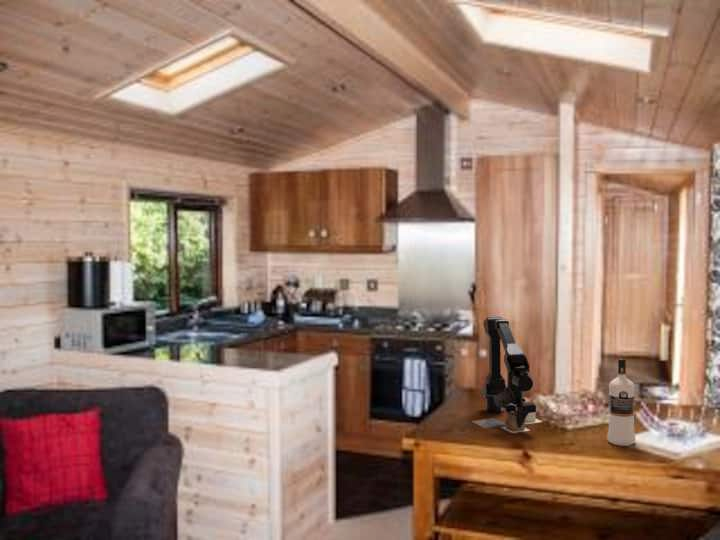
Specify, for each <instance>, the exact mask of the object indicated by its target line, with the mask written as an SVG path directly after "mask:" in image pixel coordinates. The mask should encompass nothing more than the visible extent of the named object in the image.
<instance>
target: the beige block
mask: <svg viewBox="0 0 720 540" xmlns="http://www.w3.org/2000/svg"><path fill="white" fill-rule="evenodd" d="M536 413H537V411H536V412H533V413H528V415H527V417H526V418H525V421H526V422H532V421H536V419H537V417H536V415H537V414H536Z"/></svg>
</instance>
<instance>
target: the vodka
mask: <svg viewBox="0 0 720 540" xmlns="http://www.w3.org/2000/svg"><path fill="white" fill-rule="evenodd" d="M617 365H618V366H617V376H616V377H615V378H613V379H612V380H611V381H610V382H609V383H608V389H609V390H608V391H609V392H608V394H609V413H608V416H609V417H608V419H609V420H608V421H609V422H608V432H607V435H606V438H607V441H608V442H609V443H610V444H613V445H615V446H618V447H619V446H620V447H621V446H622V447H630V446H632V445H631V444H633V443H634V441H635V442H636V435H635V424H634V422H635V412H634V411H635V409H634V408H635V389H636V388H635V387H636V386H635V384H634V382H633V381H632V380H630V379H629V378H627V359H626V358H622V357H621V358H618V359H617ZM634 444H635V443H634ZM634 444H633V445H634ZM629 445H630V446H629Z"/></svg>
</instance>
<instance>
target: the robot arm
mask: <svg viewBox="0 0 720 540" xmlns="http://www.w3.org/2000/svg"><path fill="white" fill-rule="evenodd" d="M483 328H484V333H485V334H486V336H487V338H488V373H487V376H486V377H485V378H484V385H483V386H482V389H481V396H482V397H483V398H484V399H485V408H482V410H483V412H486V413H488V414H491V415H494V414H501V413H504V412H505V413H506V412H511V411H514V412H515V413H516V414H517V424H518V428H521V426H522V424H523V422H524V420H525V418H526V417H527V415H528V413H533V412H536V413H537V405H536V404H534V403H532V402H530V401H528V402H526V398H524V392H528V391H530V390H532V388H533V387H534V382H533V379H532V377H530V376H529V373H528V372H530V371H531V370H530V364H529V361H528V358H527V355H526V354H525V353H524V351H523V349H522V348H521V347H520V346H518V345H517V343H516V340H515V337H514V335H513V333H512V330H511V327H510V323H509V320H508V319H506V318H503V317H502V316H492V317H491V316H489V317H486V318H485V319H483ZM501 344H502V346H503V349H504V354H503V363H504V365H505V368H506V371H507V374H506V375H507V384H506V379H505V378H504V377H503V375H502V373H501V370H502V369H501V366H502V365H501V362H502V361H501V358H502V357H501V355H502V354H501ZM502 408H503V409H504V410H503V409H502Z"/></svg>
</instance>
